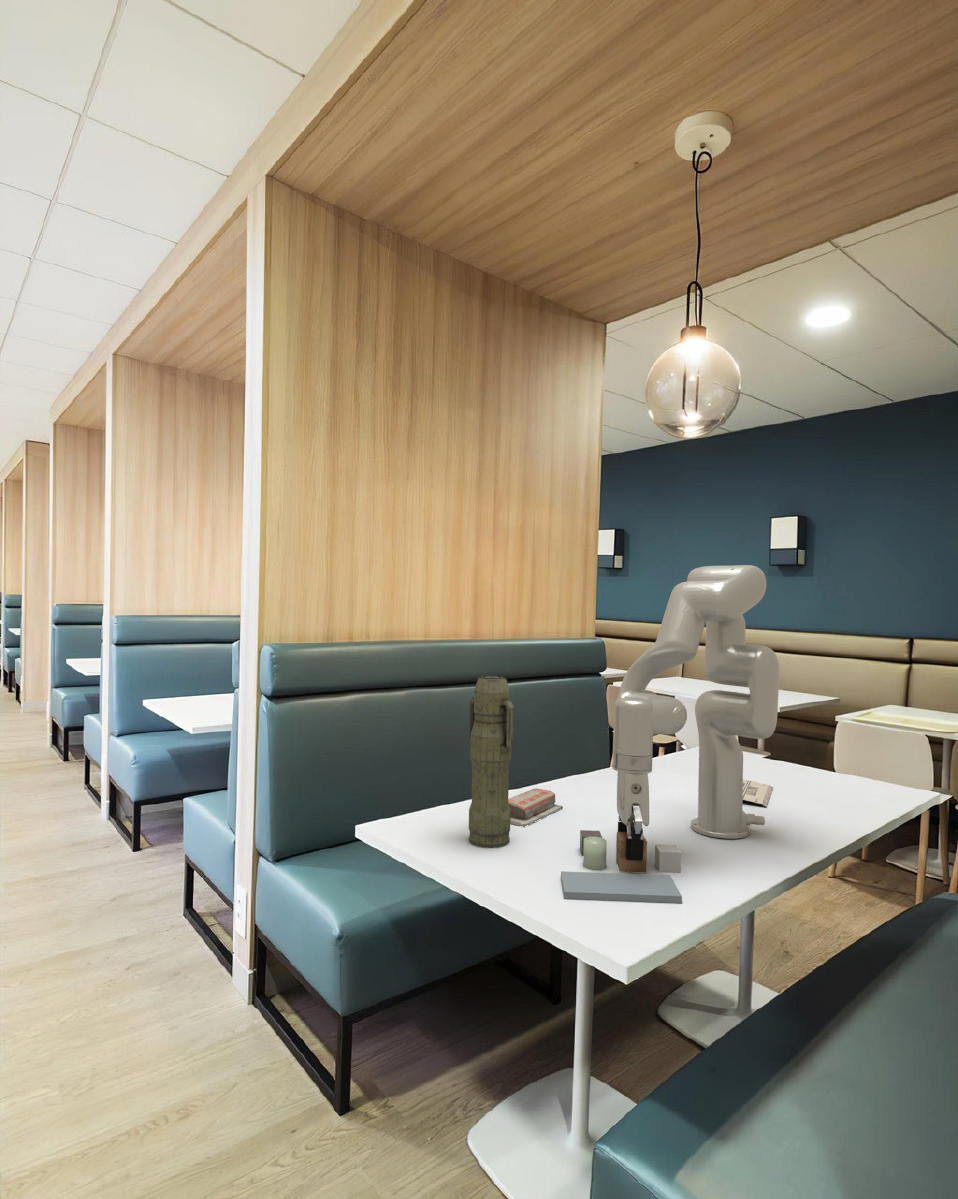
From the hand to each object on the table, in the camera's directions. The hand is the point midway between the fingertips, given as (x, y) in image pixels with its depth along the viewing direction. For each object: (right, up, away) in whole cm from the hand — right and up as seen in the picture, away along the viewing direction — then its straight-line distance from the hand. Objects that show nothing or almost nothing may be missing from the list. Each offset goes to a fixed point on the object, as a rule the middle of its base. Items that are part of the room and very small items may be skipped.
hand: (629, 850), depth 133 cm
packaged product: (-18, -4, +33) cm, 37 cm away
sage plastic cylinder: (-7, -3, +1) cm, 7 cm away
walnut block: (0, -3, 0) cm, 3 cm away
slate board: (-4, -3, -10) cm, 12 cm away
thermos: (-27, -3, +14) cm, 30 cm away
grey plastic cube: (+7, -4, 0) cm, 8 cm away
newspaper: (+43, -5, +53) cm, 69 cm away
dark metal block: (-6, -3, +8) cm, 10 cm away
